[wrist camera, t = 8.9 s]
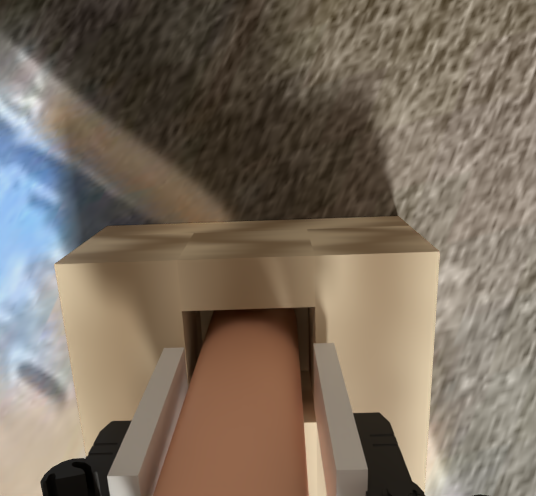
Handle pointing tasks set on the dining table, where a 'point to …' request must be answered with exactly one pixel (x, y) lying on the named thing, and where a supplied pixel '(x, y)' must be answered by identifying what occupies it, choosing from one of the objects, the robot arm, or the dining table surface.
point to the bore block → (258, 297)
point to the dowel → (241, 412)
